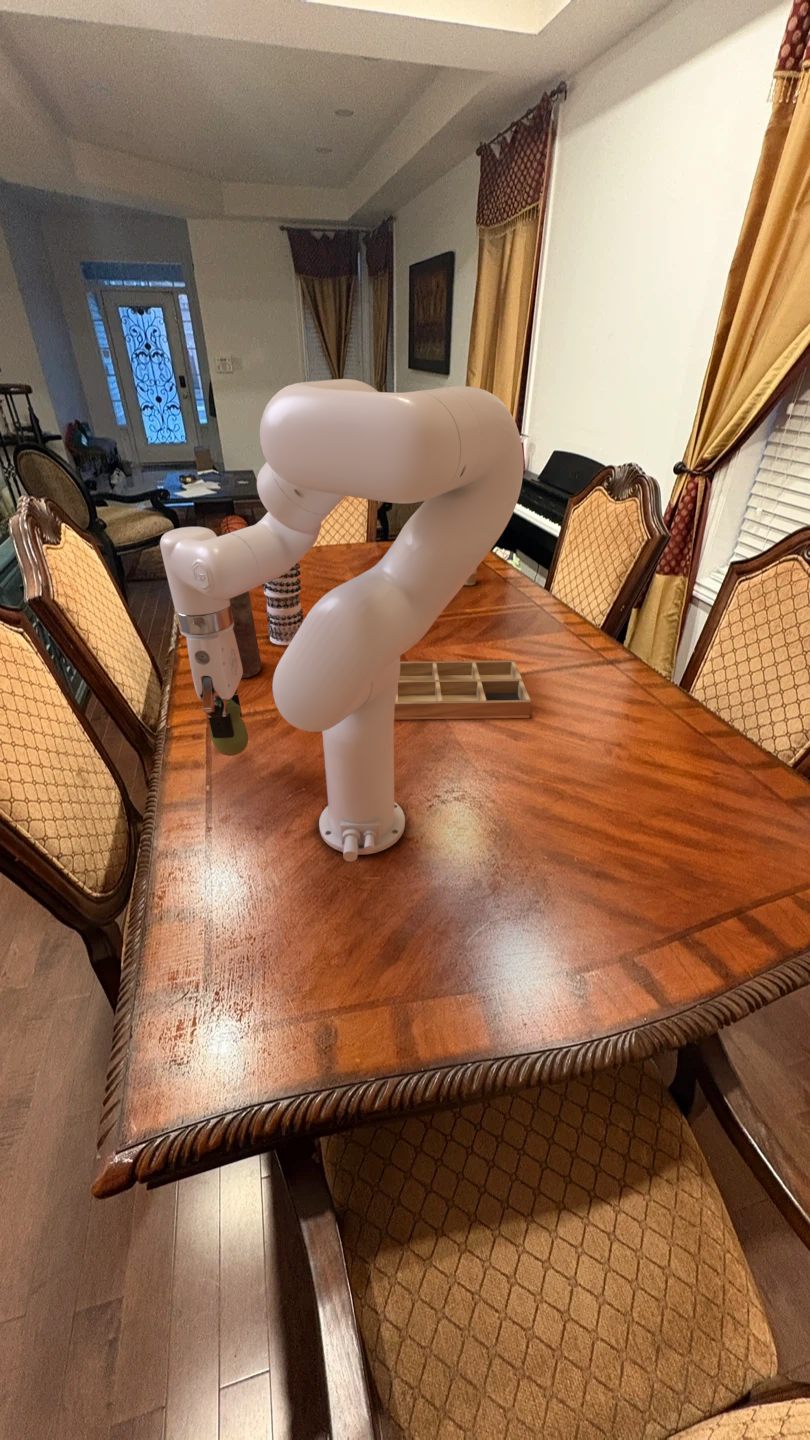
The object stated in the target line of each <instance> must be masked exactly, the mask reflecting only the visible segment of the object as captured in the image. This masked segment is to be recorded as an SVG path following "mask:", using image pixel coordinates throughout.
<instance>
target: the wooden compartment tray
mask: <svg viewBox="0 0 810 1440" xmlns="http://www.w3.org/2000/svg"><path fill="white" fill-rule="evenodd" d="M531 708H532V700H531V698H530V695H529V693H528V690H527V688H526V686H525V683H524V680H523V678H522V675H521V673H520V670H519V668H518V665H517V663H516V661H515V660H510V659H509V660H435V661H433V660H432V661H428V660H427V661H423V660H422V661H400V676H399V682H398V688H397V693H396V699H395V709H394V721H395V720H396V721H398V720H401V721H402V720H465V719H469V720H471V719H472V720H473V719H529V718H530V717H531V716H530V715H531Z"/></svg>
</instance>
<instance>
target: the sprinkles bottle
mask: <svg viewBox="0 0 810 1440" xmlns="http://www.w3.org/2000/svg"><path fill="white" fill-rule="evenodd" d="M477 568H478V567H477ZM477 568H476V569H475V570H474V572H473V573H472V574H471V576H470V577H469V578H468V579H467V581H466V582H465V584H464V585H463V586H467V587H468V586H474V585H476V580H477V579H476V577H477Z"/></svg>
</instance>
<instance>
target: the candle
mask: <svg viewBox="0 0 810 1440" xmlns="http://www.w3.org/2000/svg"><path fill="white" fill-rule="evenodd" d="M229 600H230V605H231V610H232V616H233V622H234V626H233V631H234V634H235V638H236V642H237V646H238V650H239V655H240V659H241V663H242V668H243V674H242V677H241V679H248V678H250V677H253V676H255V675H258V674H259V673H260V670H262V666H263V665H262V659H261V654H260V653H261V652H260V648H259V642H258V638H257V632H256V626H255V620H254V615H253V614H254V613H253V606H252V601H251V596H250V591H247V592H245V593H243V594H240V595H238V596H236V597H233V598H230V599H229Z"/></svg>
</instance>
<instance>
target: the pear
mask: <svg viewBox="0 0 810 1440" xmlns="http://www.w3.org/2000/svg"><path fill="white" fill-rule="evenodd" d="M226 702H227V711H228V713H230V715H231V720H232V724H233V729H234V736H233V737H232V738H214V737H213V735H212V731H211V726H210V728H209V735H210V740H211V741H212V744H213V746H214V748H215V749H216V750H217V752H219V753H220V754H221V755H224V756H227V757H228V756H229V757H232V756H233V757H234V756H237V755H240V754H241V753H243V752H244V751H245V750H246V748H247V746H248V744H249V734H248V729H247V726H246V723H245V721H244V720H243V718H242V716H241V717H240V713H241V712H242V708H240V707H241V705H240V706H239V705H237V704H236V703H235V702H234V701H233V700H232V699H229V700H227V699H226ZM214 703H215V705H219V706H220V707H221V701H214Z"/></svg>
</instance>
